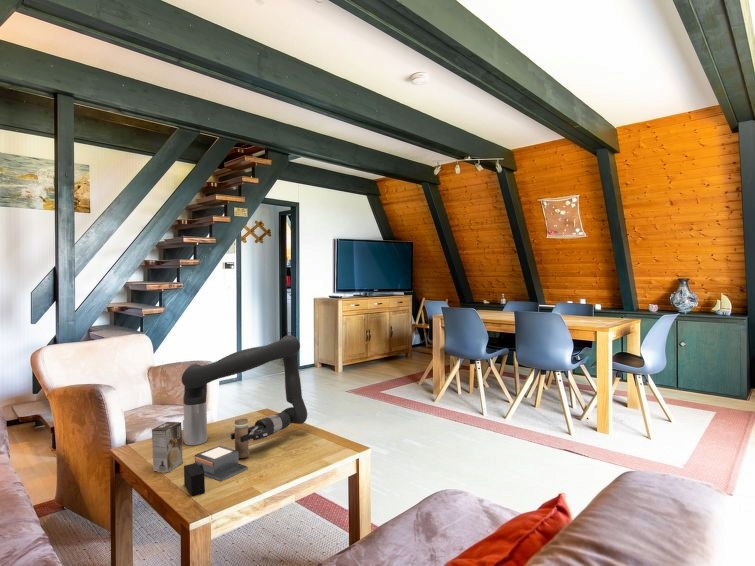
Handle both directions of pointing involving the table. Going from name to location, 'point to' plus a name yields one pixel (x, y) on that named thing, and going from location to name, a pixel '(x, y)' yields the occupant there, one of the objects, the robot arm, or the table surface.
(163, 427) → the coffee box
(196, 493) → the digital camera
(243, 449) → the column
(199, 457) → the step stand
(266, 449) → the table surface
